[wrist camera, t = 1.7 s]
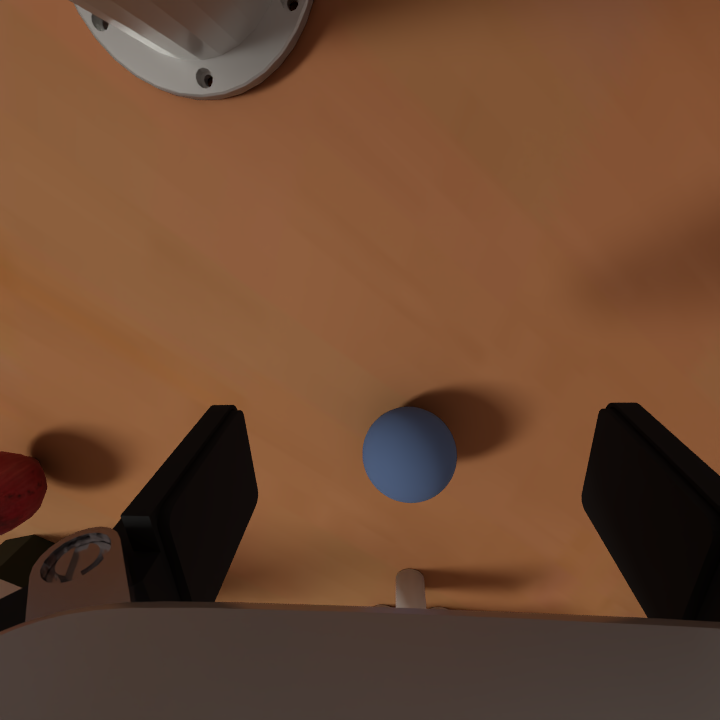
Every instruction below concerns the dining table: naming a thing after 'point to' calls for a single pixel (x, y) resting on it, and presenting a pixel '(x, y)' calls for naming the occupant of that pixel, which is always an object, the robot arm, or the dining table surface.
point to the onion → (19, 489)
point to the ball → (409, 454)
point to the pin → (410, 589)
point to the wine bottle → (19, 561)
